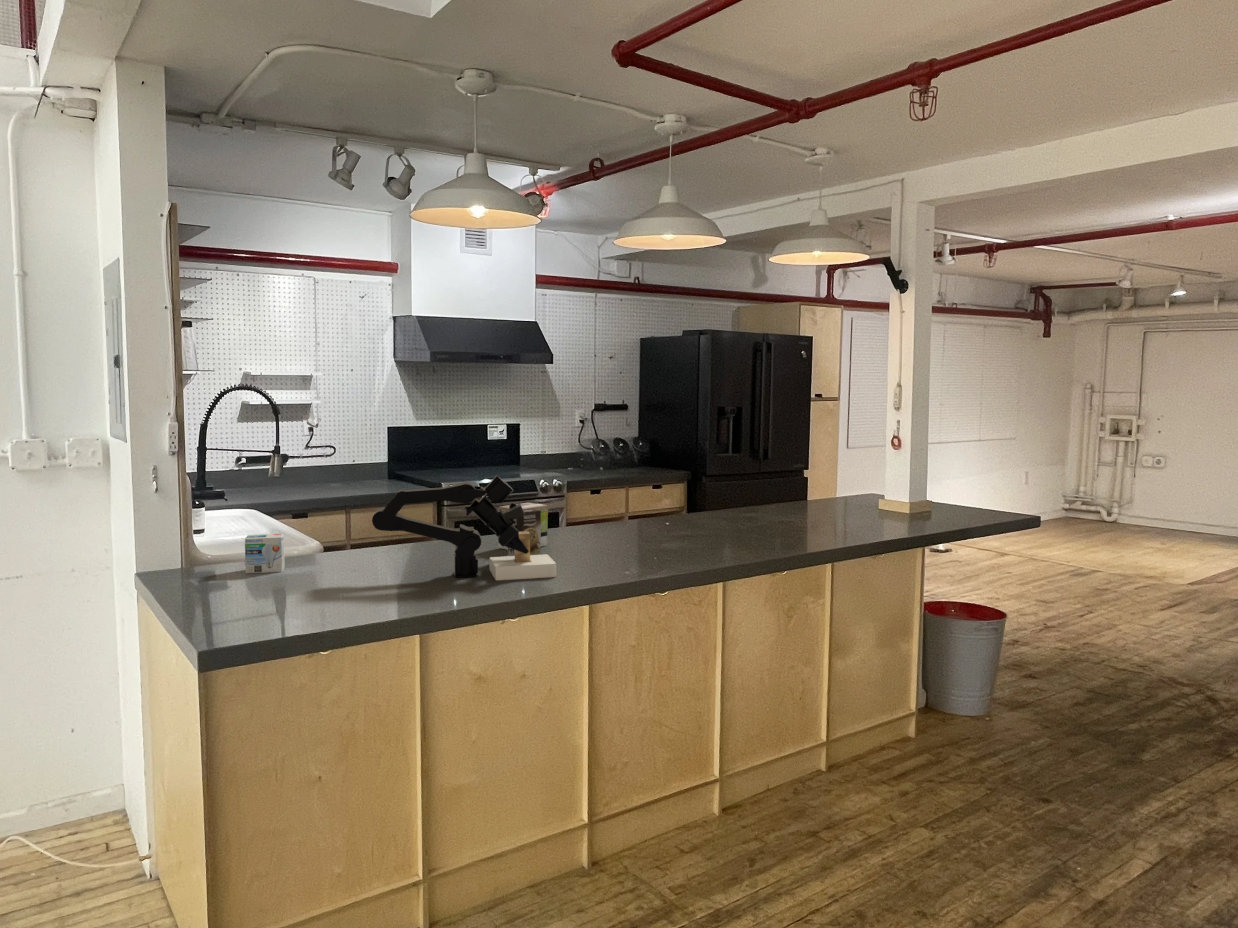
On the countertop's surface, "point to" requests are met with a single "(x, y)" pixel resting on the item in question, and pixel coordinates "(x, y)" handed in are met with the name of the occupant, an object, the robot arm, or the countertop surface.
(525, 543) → the tan wooden block
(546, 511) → the tea box
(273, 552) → the light bulb box
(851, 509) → the countertop surface
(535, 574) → the white flat block
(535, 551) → the coffee box
